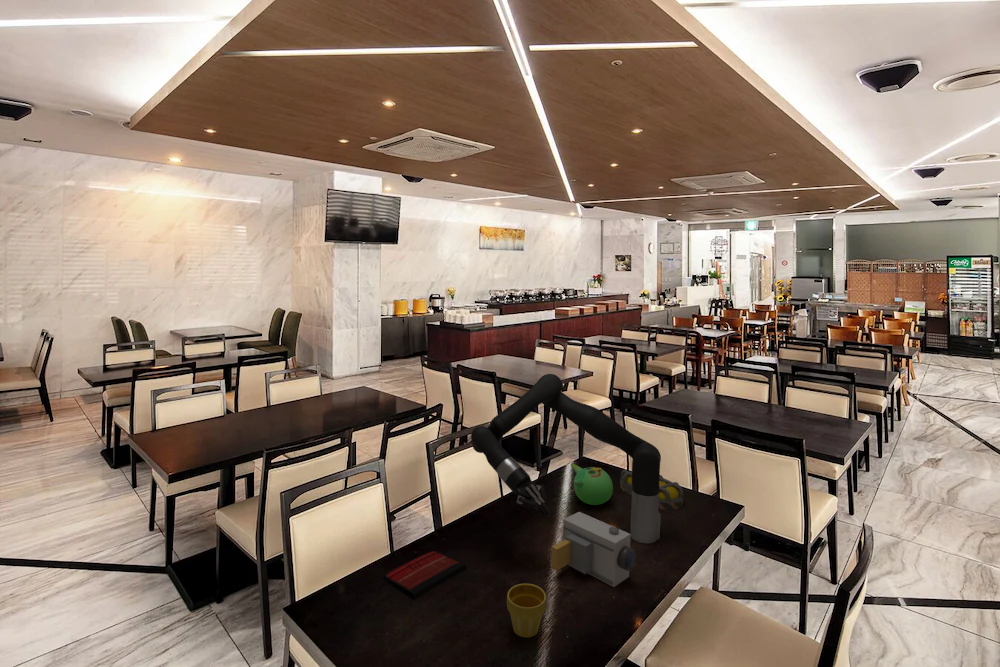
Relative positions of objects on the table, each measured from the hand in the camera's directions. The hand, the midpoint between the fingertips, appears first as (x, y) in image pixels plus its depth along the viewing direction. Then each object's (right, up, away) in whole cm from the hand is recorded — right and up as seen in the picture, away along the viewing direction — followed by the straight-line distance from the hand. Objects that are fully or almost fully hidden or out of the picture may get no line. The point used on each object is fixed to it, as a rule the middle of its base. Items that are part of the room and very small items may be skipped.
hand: (549, 514), depth 163 cm
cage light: (+48, -12, +56) cm, 75 cm away
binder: (-39, -19, -1) cm, 43 cm away
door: (+7, -16, -3) cm, 18 cm away
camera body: (+16, -18, +1) cm, 24 cm away
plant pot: (-9, -21, -26) cm, 35 cm away
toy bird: (+22, -12, +50) cm, 56 cm away
